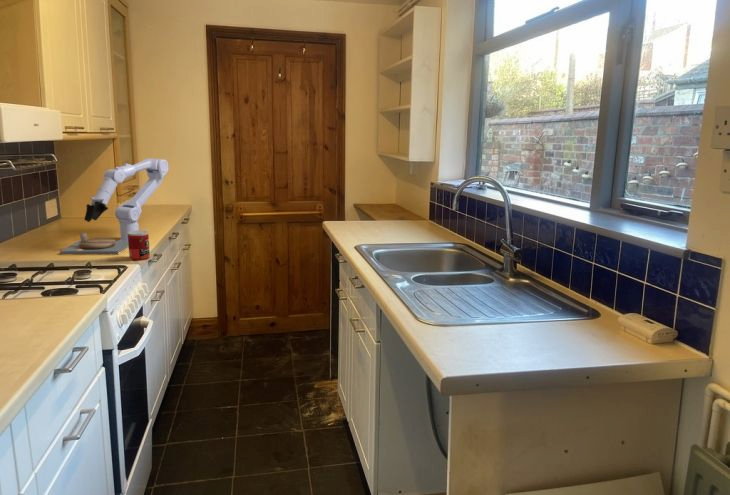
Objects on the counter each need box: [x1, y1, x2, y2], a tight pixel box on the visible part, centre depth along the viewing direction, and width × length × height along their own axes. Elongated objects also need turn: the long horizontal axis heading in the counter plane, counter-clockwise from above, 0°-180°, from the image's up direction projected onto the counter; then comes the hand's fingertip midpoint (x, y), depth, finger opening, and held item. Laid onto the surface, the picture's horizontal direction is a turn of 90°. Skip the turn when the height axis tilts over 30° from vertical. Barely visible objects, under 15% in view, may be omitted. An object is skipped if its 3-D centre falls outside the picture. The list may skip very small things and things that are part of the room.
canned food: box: [128, 229, 151, 262], centre depth 226 cm, size 8×8×11 cm
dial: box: [79, 232, 116, 249], centre depth 239 cm, size 14×14×5 cm
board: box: [60, 240, 129, 255], centre depth 239 cm, size 19×23×2 cm
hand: (89, 220), depth 236 cm, fingers open, 7 cm apart
